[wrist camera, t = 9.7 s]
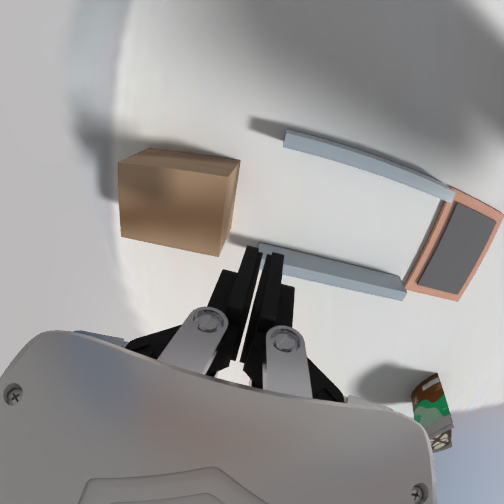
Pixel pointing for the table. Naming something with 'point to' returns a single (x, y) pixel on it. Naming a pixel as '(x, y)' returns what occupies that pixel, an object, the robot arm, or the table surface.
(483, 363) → the table surface
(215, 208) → the walnut block
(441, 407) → the food container
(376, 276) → the channel
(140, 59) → the table surface
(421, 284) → the pad
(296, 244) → the table surface
